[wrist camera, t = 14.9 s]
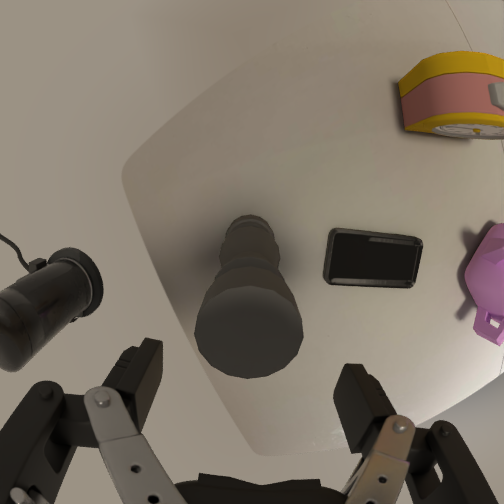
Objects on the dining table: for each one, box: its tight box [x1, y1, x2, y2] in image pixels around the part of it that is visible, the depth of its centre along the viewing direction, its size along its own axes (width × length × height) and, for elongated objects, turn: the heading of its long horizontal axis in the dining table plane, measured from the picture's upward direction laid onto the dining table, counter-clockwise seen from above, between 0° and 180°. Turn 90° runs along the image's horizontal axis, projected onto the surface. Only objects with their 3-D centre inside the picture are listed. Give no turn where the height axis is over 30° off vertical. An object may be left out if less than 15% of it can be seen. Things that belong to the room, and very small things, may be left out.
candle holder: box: [194, 215, 304, 379], centre depth 27 cm, size 6×6×25 cm
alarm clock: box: [398, 51, 504, 140], centre depth 25 cm, size 15×8×18 cm, turn 94°
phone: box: [323, 228, 423, 288], centre depth 39 cm, size 8×1×15 cm
